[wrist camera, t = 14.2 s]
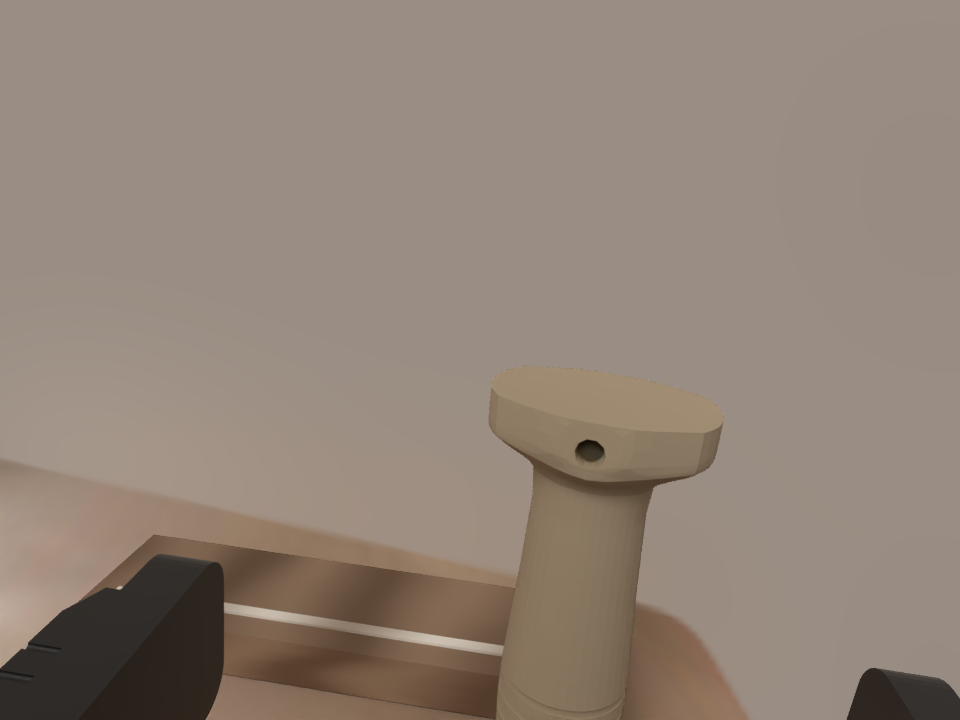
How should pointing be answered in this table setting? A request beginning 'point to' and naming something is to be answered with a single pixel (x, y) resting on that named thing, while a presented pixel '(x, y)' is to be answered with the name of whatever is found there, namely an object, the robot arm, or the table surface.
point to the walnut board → (351, 626)
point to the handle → (586, 526)
